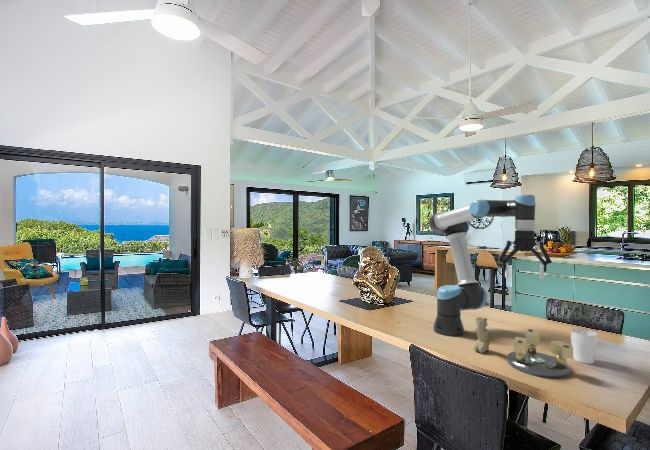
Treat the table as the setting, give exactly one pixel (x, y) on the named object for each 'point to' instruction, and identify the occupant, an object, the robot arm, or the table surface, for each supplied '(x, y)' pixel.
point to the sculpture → (482, 335)
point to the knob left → (520, 349)
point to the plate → (539, 365)
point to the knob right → (561, 352)
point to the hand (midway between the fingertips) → (523, 278)
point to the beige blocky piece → (532, 340)
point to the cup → (584, 345)
